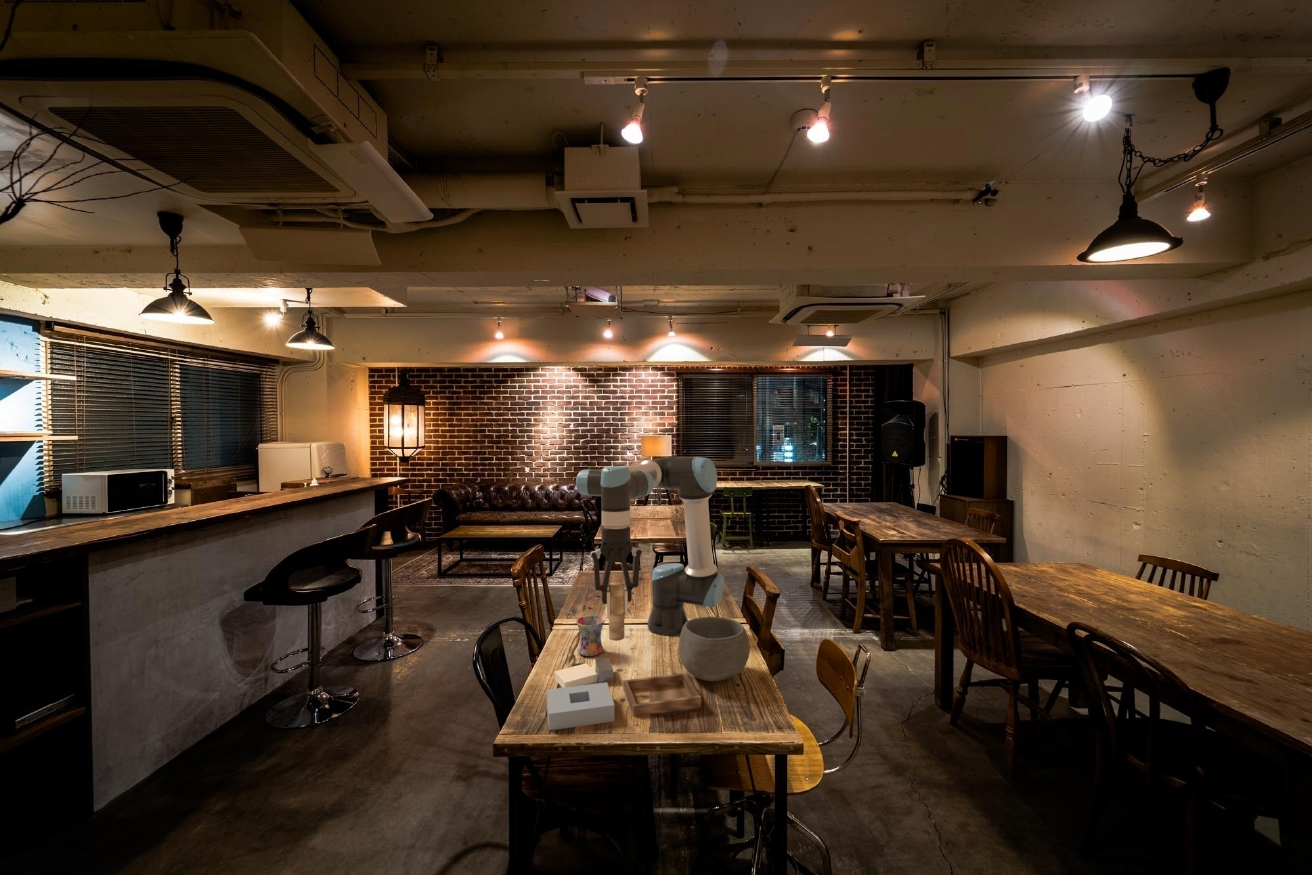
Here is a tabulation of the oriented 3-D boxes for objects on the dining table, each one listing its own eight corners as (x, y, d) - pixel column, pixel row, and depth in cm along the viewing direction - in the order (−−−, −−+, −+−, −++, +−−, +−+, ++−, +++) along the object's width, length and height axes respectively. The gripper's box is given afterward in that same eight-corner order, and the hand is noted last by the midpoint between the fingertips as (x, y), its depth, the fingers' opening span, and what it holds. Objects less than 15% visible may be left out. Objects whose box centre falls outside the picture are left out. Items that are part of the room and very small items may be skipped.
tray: (684, 684, 149) (684, 672, 149) (700, 710, 136) (700, 697, 136) (623, 692, 145) (623, 680, 145) (633, 719, 131) (633, 706, 131)
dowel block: (607, 700, 141) (607, 682, 141) (614, 724, 129) (614, 704, 129) (546, 708, 137) (546, 689, 137) (548, 734, 125) (548, 713, 125)
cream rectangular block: (586, 674, 156) (586, 663, 156) (597, 685, 150) (597, 673, 150) (554, 683, 151) (554, 671, 151) (564, 695, 144) (564, 682, 144)
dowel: (623, 633, 139) (622, 581, 138) (625, 639, 135) (625, 586, 134) (608, 635, 138) (607, 582, 137) (610, 641, 134) (609, 587, 133)
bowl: (751, 664, 163) (751, 616, 162) (747, 697, 142) (748, 643, 142) (685, 657, 167) (684, 611, 167) (672, 689, 147) (672, 636, 147)
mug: (600, 659, 166) (600, 626, 166) (572, 657, 168) (572, 624, 167) (609, 644, 178) (609, 613, 178) (583, 642, 179) (583, 611, 179)
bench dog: (608, 672, 157) (608, 657, 157) (613, 685, 149) (613, 669, 149) (595, 674, 156) (595, 659, 156) (599, 686, 148) (599, 671, 148)
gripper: (644, 521, 141) (645, 607, 142) (581, 524, 137) (582, 612, 138) (650, 527, 134) (651, 616, 134) (584, 530, 130) (585, 623, 130)
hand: (616, 614), depth 136 cm, fingers closed on dowel, 4 cm apart
